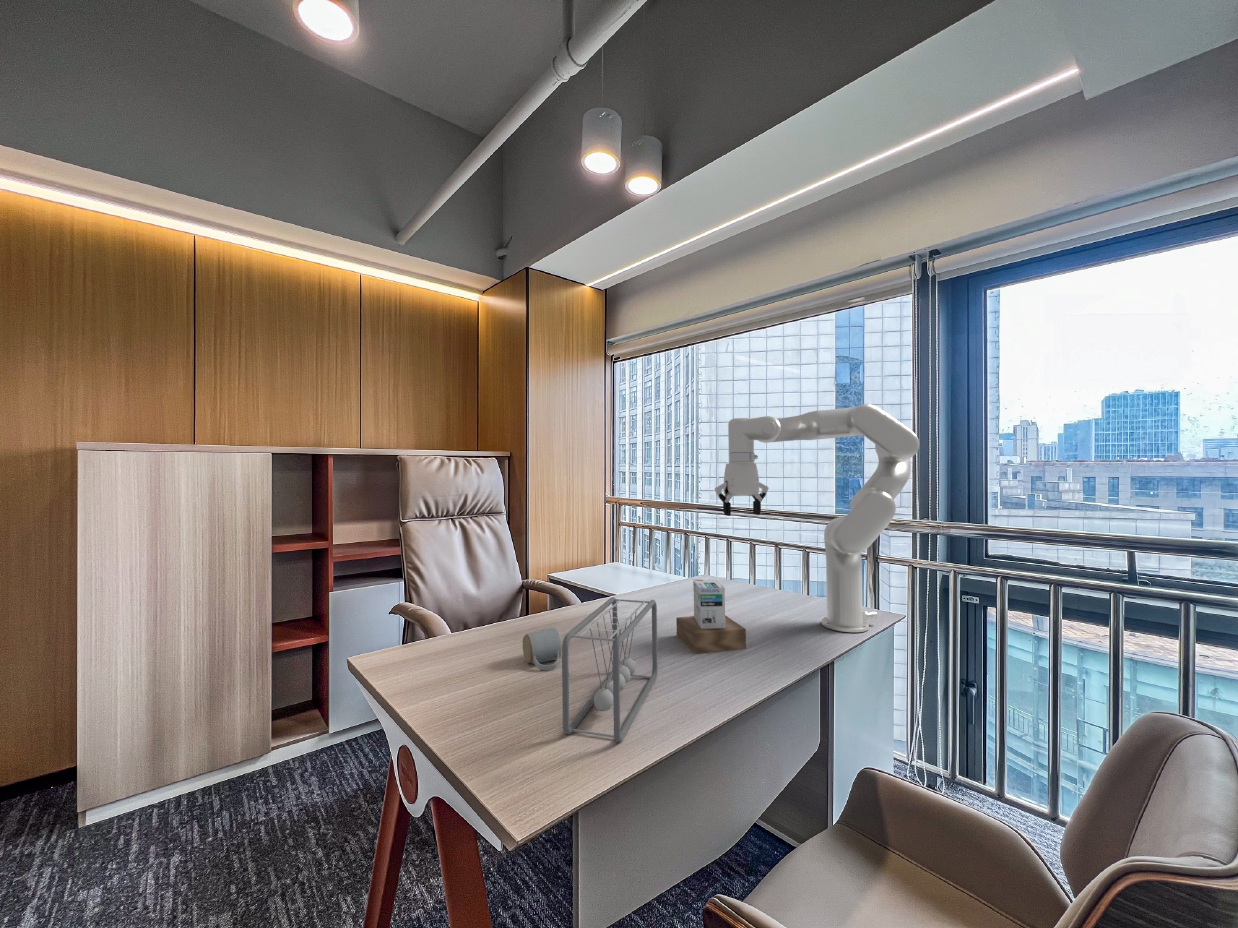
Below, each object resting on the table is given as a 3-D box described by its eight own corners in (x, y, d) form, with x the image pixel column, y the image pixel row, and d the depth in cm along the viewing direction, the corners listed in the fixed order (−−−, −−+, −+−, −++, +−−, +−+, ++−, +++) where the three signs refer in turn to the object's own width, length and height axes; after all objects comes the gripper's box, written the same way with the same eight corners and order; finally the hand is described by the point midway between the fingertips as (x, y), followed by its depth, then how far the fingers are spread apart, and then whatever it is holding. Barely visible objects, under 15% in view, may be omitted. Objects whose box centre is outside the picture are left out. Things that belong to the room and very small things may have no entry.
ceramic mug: (521, 658, 123) (520, 627, 123) (552, 652, 127) (552, 622, 127) (533, 675, 114) (533, 641, 114) (567, 667, 117) (567, 635, 117)
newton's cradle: (614, 671, 115) (613, 594, 115) (658, 676, 112) (657, 597, 112) (561, 739, 86) (560, 636, 86) (619, 748, 83) (618, 642, 83)
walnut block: (723, 631, 142) (722, 613, 142) (746, 648, 128) (745, 628, 128) (676, 635, 139) (676, 617, 139) (695, 653, 125) (694, 633, 125)
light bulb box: (726, 629, 128) (725, 587, 128) (700, 629, 128) (699, 587, 128) (716, 616, 139) (716, 578, 139) (693, 617, 139) (692, 578, 139)
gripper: (761, 458, 157) (761, 513, 157) (709, 459, 153) (710, 514, 153) (773, 458, 149) (774, 515, 149) (720, 458, 146) (721, 517, 145)
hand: (742, 514), depth 151 cm, fingers open, 9 cm apart
